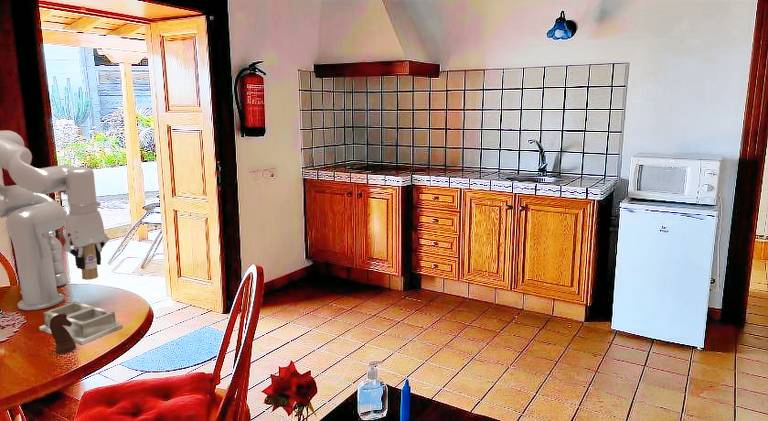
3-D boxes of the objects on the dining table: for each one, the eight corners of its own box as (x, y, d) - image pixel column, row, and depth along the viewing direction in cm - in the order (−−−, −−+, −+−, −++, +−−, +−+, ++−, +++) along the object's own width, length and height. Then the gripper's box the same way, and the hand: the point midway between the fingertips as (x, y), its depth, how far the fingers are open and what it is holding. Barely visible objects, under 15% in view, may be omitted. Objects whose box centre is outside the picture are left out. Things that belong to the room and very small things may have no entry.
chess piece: (75, 351, 140) (70, 315, 138) (52, 355, 138) (47, 319, 136) (76, 344, 144) (71, 309, 142) (54, 348, 142) (49, 312, 140)
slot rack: (39, 330, 154) (37, 313, 153) (80, 315, 164) (78, 299, 163) (82, 344, 144) (79, 327, 143) (122, 327, 154) (120, 311, 153)
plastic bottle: (58, 289, 186) (49, 233, 182) (41, 288, 188) (32, 232, 184) (72, 283, 193) (64, 229, 188) (56, 282, 194) (48, 228, 190)
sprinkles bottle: (87, 281, 165) (83, 238, 162) (78, 278, 167) (74, 236, 164) (101, 277, 169) (98, 235, 166) (92, 274, 171) (88, 233, 168)
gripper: (101, 202, 172) (106, 257, 176) (47, 212, 158) (54, 271, 162) (116, 205, 168) (121, 261, 172) (62, 215, 154) (69, 276, 158)
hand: (89, 265), depth 167 cm, fingers closed on sprinkles bottle, 4 cm apart
